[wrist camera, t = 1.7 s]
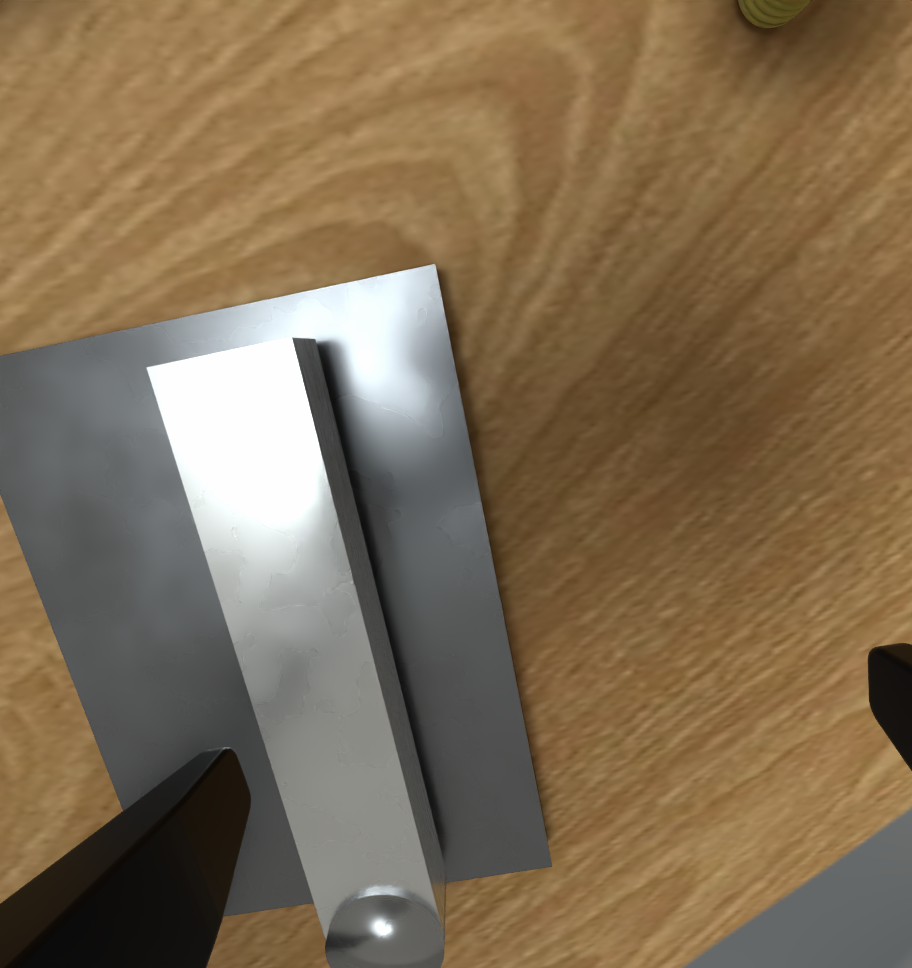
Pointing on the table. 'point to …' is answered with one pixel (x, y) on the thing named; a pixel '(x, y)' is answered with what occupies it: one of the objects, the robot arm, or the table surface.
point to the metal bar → (311, 641)
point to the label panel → (190, 587)
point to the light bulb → (771, 11)
